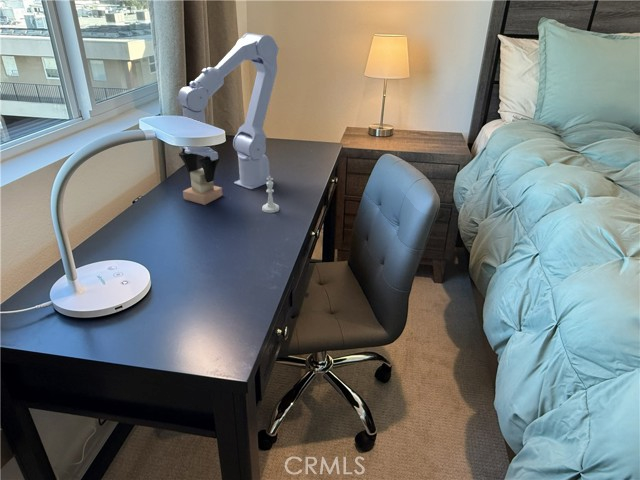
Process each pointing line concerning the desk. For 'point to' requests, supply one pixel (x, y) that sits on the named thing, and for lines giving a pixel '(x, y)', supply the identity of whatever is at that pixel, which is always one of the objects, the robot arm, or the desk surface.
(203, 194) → the block
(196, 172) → the metal block
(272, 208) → the chess piece
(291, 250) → the desk surface
